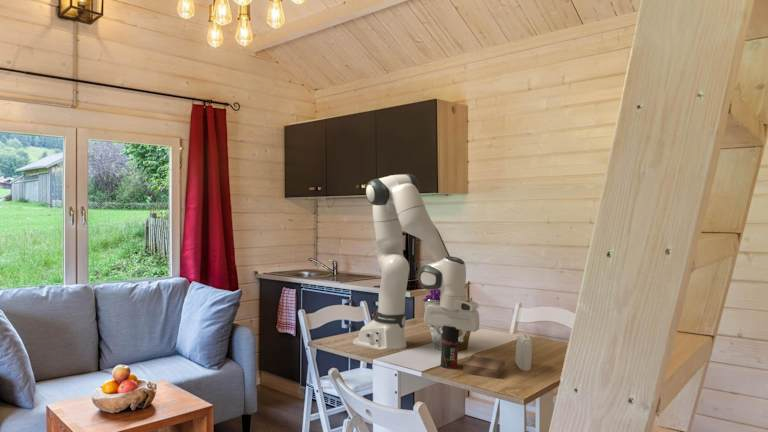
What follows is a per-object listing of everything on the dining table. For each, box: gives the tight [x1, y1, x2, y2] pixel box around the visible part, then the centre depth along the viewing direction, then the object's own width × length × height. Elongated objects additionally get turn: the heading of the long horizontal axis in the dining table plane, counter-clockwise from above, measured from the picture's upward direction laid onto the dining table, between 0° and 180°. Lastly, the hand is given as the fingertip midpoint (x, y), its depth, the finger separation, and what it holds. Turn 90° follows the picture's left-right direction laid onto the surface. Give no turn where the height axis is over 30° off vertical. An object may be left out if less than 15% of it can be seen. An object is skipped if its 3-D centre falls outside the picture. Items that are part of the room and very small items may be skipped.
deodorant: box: [440, 325, 460, 370], centre depth 211 cm, size 6×6×15 cm
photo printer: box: [514, 332, 533, 372], centre depth 214 cm, size 10×4×12 cm, turn 179°
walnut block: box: [462, 355, 506, 379], centre depth 206 cm, size 12×12×4 cm
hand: (450, 339), depth 211 cm, fingers open, 6 cm apart
